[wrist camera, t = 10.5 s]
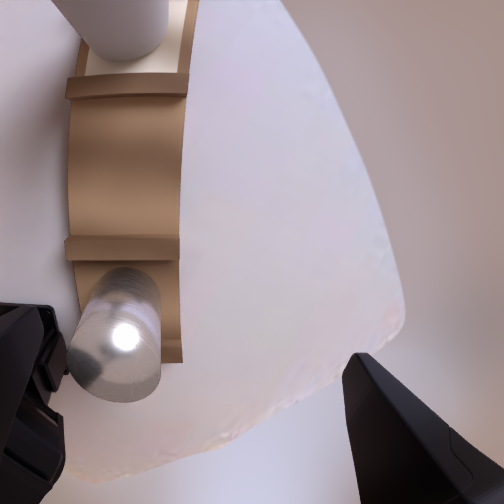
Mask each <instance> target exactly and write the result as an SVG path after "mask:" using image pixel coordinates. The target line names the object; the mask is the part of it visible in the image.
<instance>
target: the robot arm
mask: <svg viewBox="0 0 504 504" xmlns="http://www.w3.org/2000/svg"><path fill="white" fill-rule="evenodd" d="M47 311H49V312H50V314H48V313H47ZM65 369H66V370H65ZM69 372H70V370H69V368H68V364H67V350H66V346H65V343H64V339H63V335H62V333H61V332H60V331H59V328H58V324H57V320H56V315H55V311H54V309H53V308H52V307H51V306H49V305H34V304H16V303H1V302H0V504H39V503H40V502H41V500H42V499H43V497H44V496H45V495H46V494H47V493H48V492H49V491H50V490H51V489H52V487H53V485H54V484H55V483H56V481H57V480H58V479H59V477H60V475H61V473H62V471H63V468H64V464H65V442H64V424H63V416H61V415H60V414H59V413H58V412H55V411H53V410H52V409H51V408H50V407H48V403H49V400H50V397H51V394H52V392H57V390H58V388H59V385H60V382H61V379H62V376H63V375H68V374H69ZM342 384H343V394H344V404H345V415H346V424H347V430H348V435H349V440H350V445H351V450H352V456H353V461H354V466H355V472H356V477H357V483H358V489H359V495H360V501H361V504H504V469H503V468H502V467H501V466H499V465H498V464H497V463H495V462H494V461H493V460H491V459H490V458H488V457H487V456H486V455H484V454H483V453H481V452H480V451H479V450H478V449H476V448H475V447H473V446H472V445H471V444H470V443H468V442H467V441H466V440H465V439H464V438H463V437H462V436H460V435H459V434H458V433H457V432H456V431H455V430H454V429H453V428H451V427H449V425H448V424H447V423H446V422H444V421H443V420H442V419H441V418H440V417H439V416H438V415H437V414H436V413H435V412H433V411H432V410H431V409H430V408H429V407H428V406H427V405H425V404H424V403H423V402H422V401H421V400H420V399H419V398H418V397H417V396H415V395H414V394H413V393H412V392H411V391H410V390H409V389H408V388H406V387H405V386H404V385H403V384H402V383H401V382H400V381H399V380H397V379H396V378H395V377H394V376H393V375H392V374H391V373H390V372H388V371H387V370H386V369H385V368H384V367H383V366H382V365H381V364H380V363H378V362H377V361H376V360H375V359H374V358H373V357H372V356H371V355H369V354H368V353H354V354H353V355H352V356H351V358H350V360H349V362H348V364H347V366H346V367H345V369H344V371H343V374H342Z"/></svg>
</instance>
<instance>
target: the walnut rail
mask: <svg viewBox="0 0 504 504" xmlns="http://www.w3.org/2000/svg"><path fill="white" fill-rule="evenodd" d="M198 5H199V0H169V25H168V29H167V33H166V35H165V36H164V38H163V40H162V42H161V43H160V44H159V45H158V46H157V47H156V48H155V49H154V50H152V51H150V52H149V53H147V54H146V55H144V56H141V57H139V58H136V59H133V60H128V61H124V62H111V61H107V60H103V59H102V58H100V57H99V56H97V55H96V54H95V53H94V52H93V50H92V49H91V48H90V47H89V46H88V44H87V43H86V42H85V41H84V40H83V38H82V39H81V44H80V49H79V54H78V60H77V66H76V72H75V77H73V78H68V80H67V87H66V95H65V98H66V99H68V100H71V101H72V103H71V113H70V125H69V143H68V206H69V224H70V236H69V237H68V238H67V239H66V240H65V241H64V243H65V252H66V260H73V265H74V273H75V280H76V286H77V293H78V298H79V304H80V310H81V315H82V314H83V312H84V310H85V308H86V306H87V303H88V301H89V299H90V297H91V295H92V293H93V291H94V289H95V287H96V285H97V283H98V281H99V279H100V278H101V277H102V276H103V275H104V274H105V273H106V272H108V271H110V270H112V269H115V268H119V267H130V268H135V269H138V270H140V271H142V272H144V273H146V274H147V275H148V276H150V277H151V278H152V279H153V280H154V282H155V283H156V285H157V286H158V288H159V291H160V294H161V363H183V358H182V344H181V326H180V296H179V260H180V239H179V215H180V184H181V163H182V146H183V132H184V119H185V108H186V97H187V92H188V82H189V69H190V60H191V53H192V45H193V38H194V31H195V24H196V18H197V11H198Z"/></svg>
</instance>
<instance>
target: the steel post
mask: <svg viewBox="0 0 504 504" xmlns="http://www.w3.org/2000/svg"><path fill="white" fill-rule="evenodd" d="M67 364H68V368H69V370H70V373H71V374H72V376H73V378H74V379H75V380H76V382H77V383H78V384H79V385H80V386H81V387H82V388H84V389H85V390H86V391H88V392H89V393H91V394H92V395H94V396H96V397H98V398H101V399H104V400H107V401H112V402H120V403H126V402H134V401H138V400H141V399H143V398H145V397H147V396H148V395H150V394H151V393H152V392H153V391H154V390H155V389H156V387H157V386H158V384H159V381H160V377H161V294H160V291H159V288H158V286H157V285H156V283H155V282H154V280H153V279H152V278H151V277H150V276H148V275H147V274H146V273H144V272H142V271H140V270H138V269H135V268H130V267H119V268H115V269H112V270H110V271H108V272H106V273H105V274H104V275H103V276H102V277H101V278H100V279H99V281H98V283H97V285H96V287H95V289H94V291H93V293H92V295H91V297H90V299H89V301H88V303H87V306H86V308H85V310H84V312H83V314H82V317H81V319H80V321H79V323H78V326H77V328H76V330H75V333H74V335H73V337H72V340H71V342H70V345H69V347H68V350H67Z"/></svg>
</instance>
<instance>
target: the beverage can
mask: <svg viewBox="0 0 504 504" xmlns="http://www.w3.org/2000/svg"><path fill="white" fill-rule="evenodd" d="M51 1H52V2H53V3H54V4H55V6H56V7H57V8H58V9H59V10H60V12H61V13H62V14H63V15H64V17H65V18H66V19H67V20H68V21H69V23H70V24H71V25H72V26H73V27H74V29H75V30H76V31H77V32H78V33H79V35H80V36H81V37H82V38H83V40H84V41H85V42H86V43H87V44H88V46H89V47H90V48H91V49H92V50H93V52H94V53H95V54H96V55H97V56H99V57H100V58H102V59H103V60H107V61H111V62H124V61H128V60H133V59H136V58H139V57H141V56H144V55H146V54H147V53H149V52H150V51H152V50H154V49H155V48H156V47H157V46H158V45H159V44H160V43H161V42H162V40H163V38H164V36H165V35H166V33H167V29H168V25H169V0H51Z"/></svg>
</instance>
